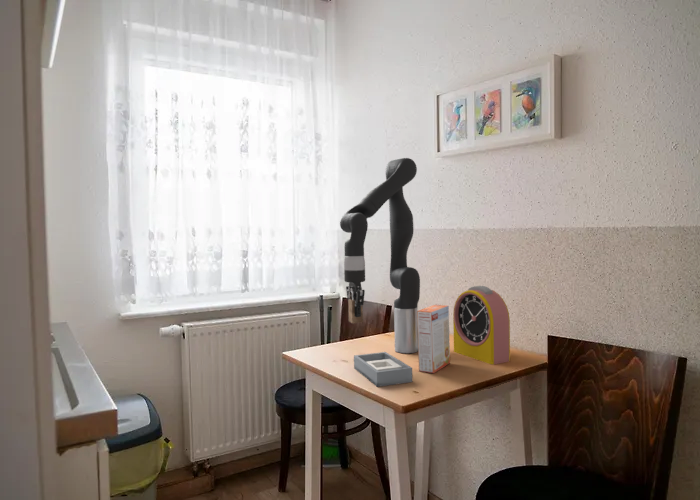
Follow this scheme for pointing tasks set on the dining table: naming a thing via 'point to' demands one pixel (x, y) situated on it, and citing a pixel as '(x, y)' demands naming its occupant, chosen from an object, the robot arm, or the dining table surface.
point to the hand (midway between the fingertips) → (355, 315)
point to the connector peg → (352, 313)
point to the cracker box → (433, 338)
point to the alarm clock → (482, 326)
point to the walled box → (382, 369)
